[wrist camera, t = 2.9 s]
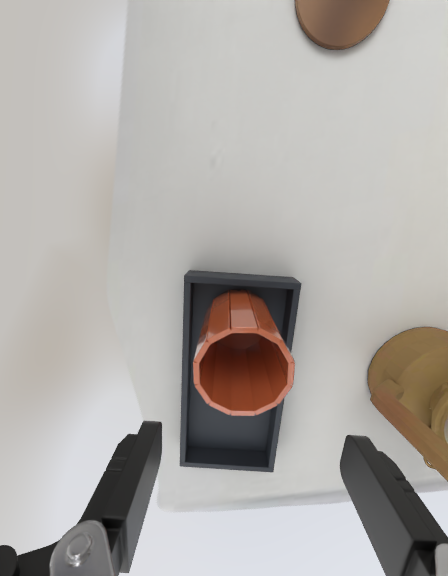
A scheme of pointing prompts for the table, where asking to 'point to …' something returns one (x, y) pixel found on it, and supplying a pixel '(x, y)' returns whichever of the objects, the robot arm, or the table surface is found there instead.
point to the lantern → (415, 390)
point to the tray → (197, 413)
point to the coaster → (339, 20)
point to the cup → (241, 356)
